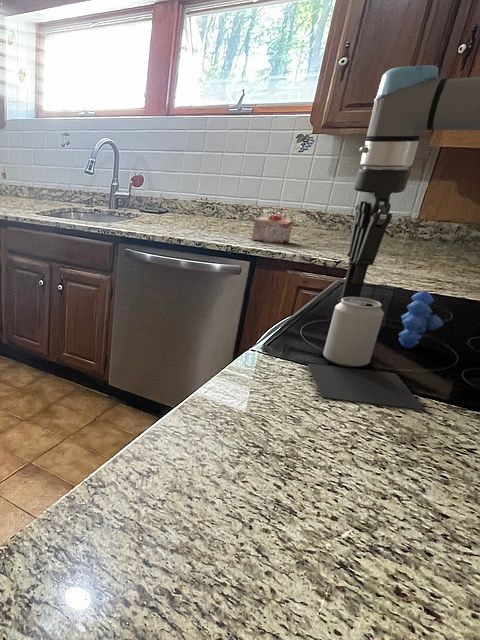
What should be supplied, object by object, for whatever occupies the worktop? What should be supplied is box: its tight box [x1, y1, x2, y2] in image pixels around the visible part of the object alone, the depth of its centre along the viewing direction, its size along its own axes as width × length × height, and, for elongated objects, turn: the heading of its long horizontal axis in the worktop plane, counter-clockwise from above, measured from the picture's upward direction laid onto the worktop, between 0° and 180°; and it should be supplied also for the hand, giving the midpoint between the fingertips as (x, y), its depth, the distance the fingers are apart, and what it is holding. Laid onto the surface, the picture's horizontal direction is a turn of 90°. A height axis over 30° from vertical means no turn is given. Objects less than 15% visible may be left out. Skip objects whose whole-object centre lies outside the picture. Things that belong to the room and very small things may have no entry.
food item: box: [251, 214, 295, 244], centre depth 201 cm, size 14×8×10 cm, turn 41°
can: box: [322, 296, 385, 368], centre depth 96 cm, size 8×8×12 cm
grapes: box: [398, 290, 444, 349], centre depth 102 cm, size 12×7×12 cm, turn 136°
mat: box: [306, 363, 426, 412], centre depth 89 cm, size 14×14×1 cm
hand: (349, 297), depth 101 cm, fingers closed
